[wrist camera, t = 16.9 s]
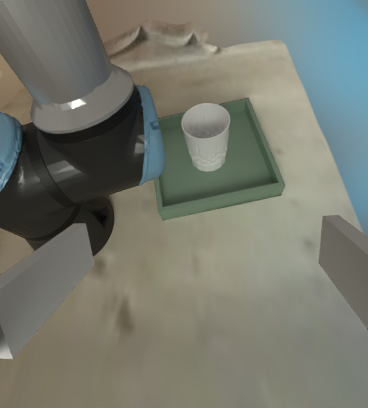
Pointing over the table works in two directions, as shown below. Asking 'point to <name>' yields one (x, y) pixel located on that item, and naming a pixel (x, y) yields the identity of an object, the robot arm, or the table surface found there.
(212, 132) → the white cup
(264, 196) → the green box
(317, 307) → the table surface
